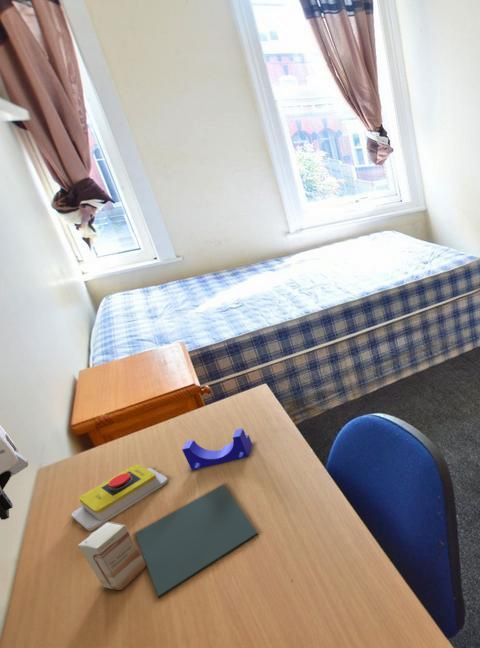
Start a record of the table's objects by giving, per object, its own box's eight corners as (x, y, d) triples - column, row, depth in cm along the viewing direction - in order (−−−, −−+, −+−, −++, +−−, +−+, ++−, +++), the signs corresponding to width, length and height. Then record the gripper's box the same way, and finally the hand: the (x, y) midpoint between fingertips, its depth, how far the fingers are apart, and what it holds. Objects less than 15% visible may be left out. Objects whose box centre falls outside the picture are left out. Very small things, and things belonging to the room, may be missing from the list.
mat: (158, 597, 78) (158, 596, 78) (135, 534, 91) (134, 533, 91) (257, 534, 88) (257, 532, 88) (224, 485, 101) (223, 484, 101)
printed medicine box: (121, 591, 80) (94, 550, 76) (102, 587, 81) (75, 546, 77) (149, 564, 84) (125, 523, 80) (130, 560, 85) (106, 520, 81)
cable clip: (252, 444, 114) (244, 424, 111) (248, 456, 110) (239, 436, 107) (198, 457, 111) (188, 437, 109) (191, 470, 107) (181, 449, 105)
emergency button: (162, 465, 103) (79, 515, 91) (170, 481, 104) (89, 532, 93) (142, 454, 107) (61, 500, 96) (150, 469, 109) (71, 516, 97)
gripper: (5, 380, 69) (64, 476, 76) (-159, 434, 59) (-73, 537, 67) (5, 397, 64) (69, 498, 71) (-173, 458, 54) (-79, 567, 62)
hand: (0, 516), depth 69 cm, fingers closed
